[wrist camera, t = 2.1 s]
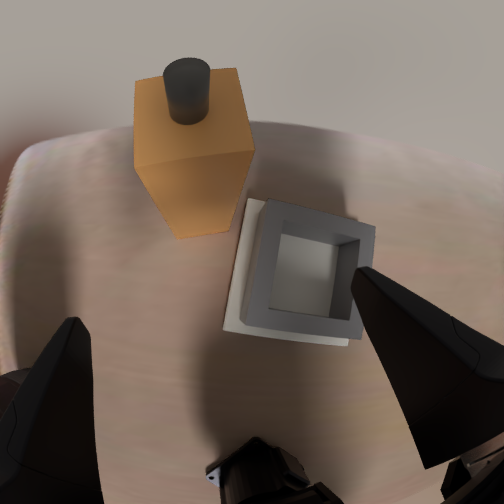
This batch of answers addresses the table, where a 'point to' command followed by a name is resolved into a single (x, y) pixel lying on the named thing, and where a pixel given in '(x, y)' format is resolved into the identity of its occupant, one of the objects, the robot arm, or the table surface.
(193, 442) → the table surface
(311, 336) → the socket
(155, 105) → the plug
